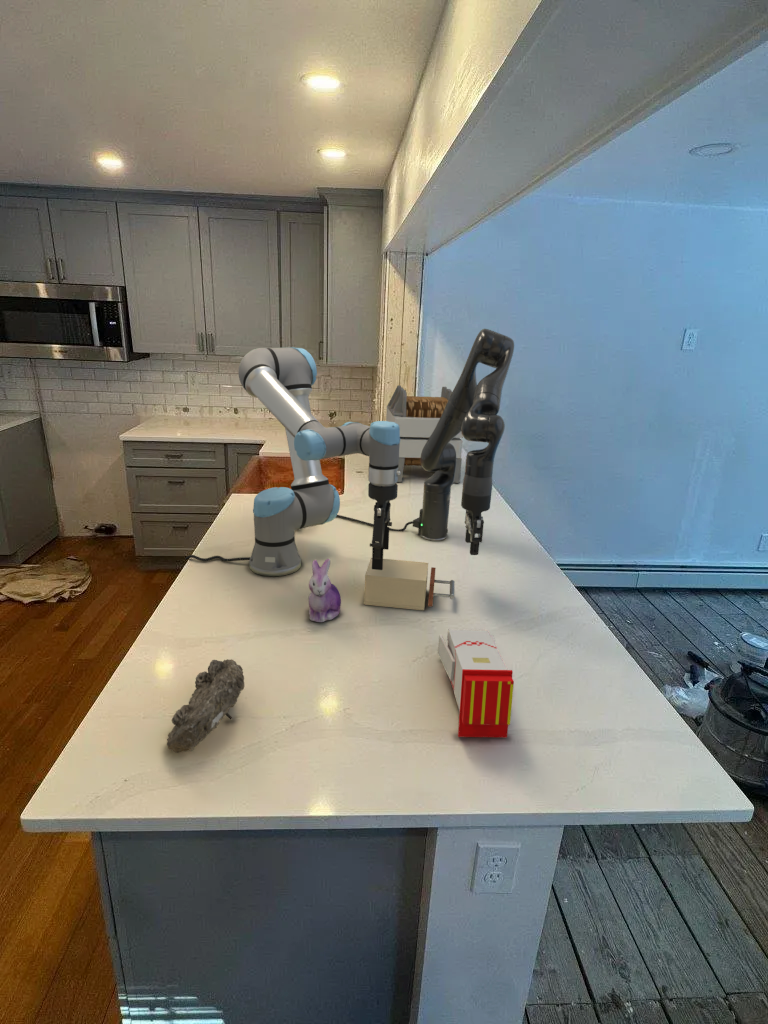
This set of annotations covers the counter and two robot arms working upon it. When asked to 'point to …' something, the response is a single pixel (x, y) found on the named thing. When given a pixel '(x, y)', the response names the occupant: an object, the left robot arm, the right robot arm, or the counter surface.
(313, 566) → the figurine
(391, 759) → the counter surface
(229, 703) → the fossil
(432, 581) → the drawer
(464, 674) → the toy
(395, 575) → the cabinet
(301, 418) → the left robot arm
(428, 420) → the white box
